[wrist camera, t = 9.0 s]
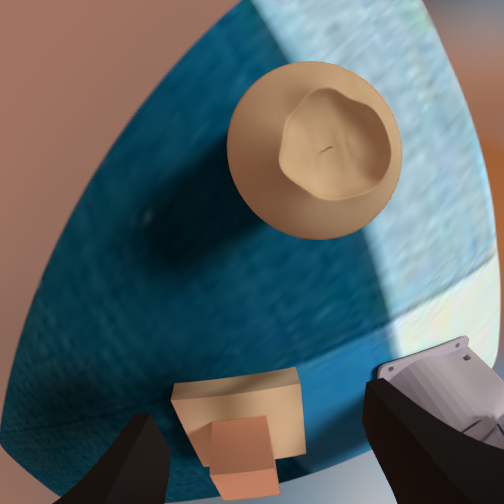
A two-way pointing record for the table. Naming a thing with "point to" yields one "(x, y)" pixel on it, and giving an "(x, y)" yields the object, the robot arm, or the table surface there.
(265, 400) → the birch block
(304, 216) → the candle
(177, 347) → the table surface
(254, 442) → the terracotta block
